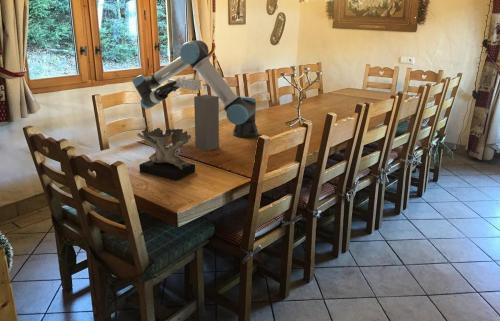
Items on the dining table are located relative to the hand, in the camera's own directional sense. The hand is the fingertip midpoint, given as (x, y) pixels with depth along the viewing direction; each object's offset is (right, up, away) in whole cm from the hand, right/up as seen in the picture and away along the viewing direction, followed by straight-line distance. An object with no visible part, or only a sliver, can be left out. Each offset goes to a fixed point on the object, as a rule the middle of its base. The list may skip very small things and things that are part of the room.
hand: (182, 79), depth 223 cm
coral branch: (-2, -43, -17) cm, 46 cm away
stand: (+13, -37, +1) cm, 39 cm away
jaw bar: (0, -4, +1) cm, 4 cm away
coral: (-1, -51, -38) cm, 63 cm away
